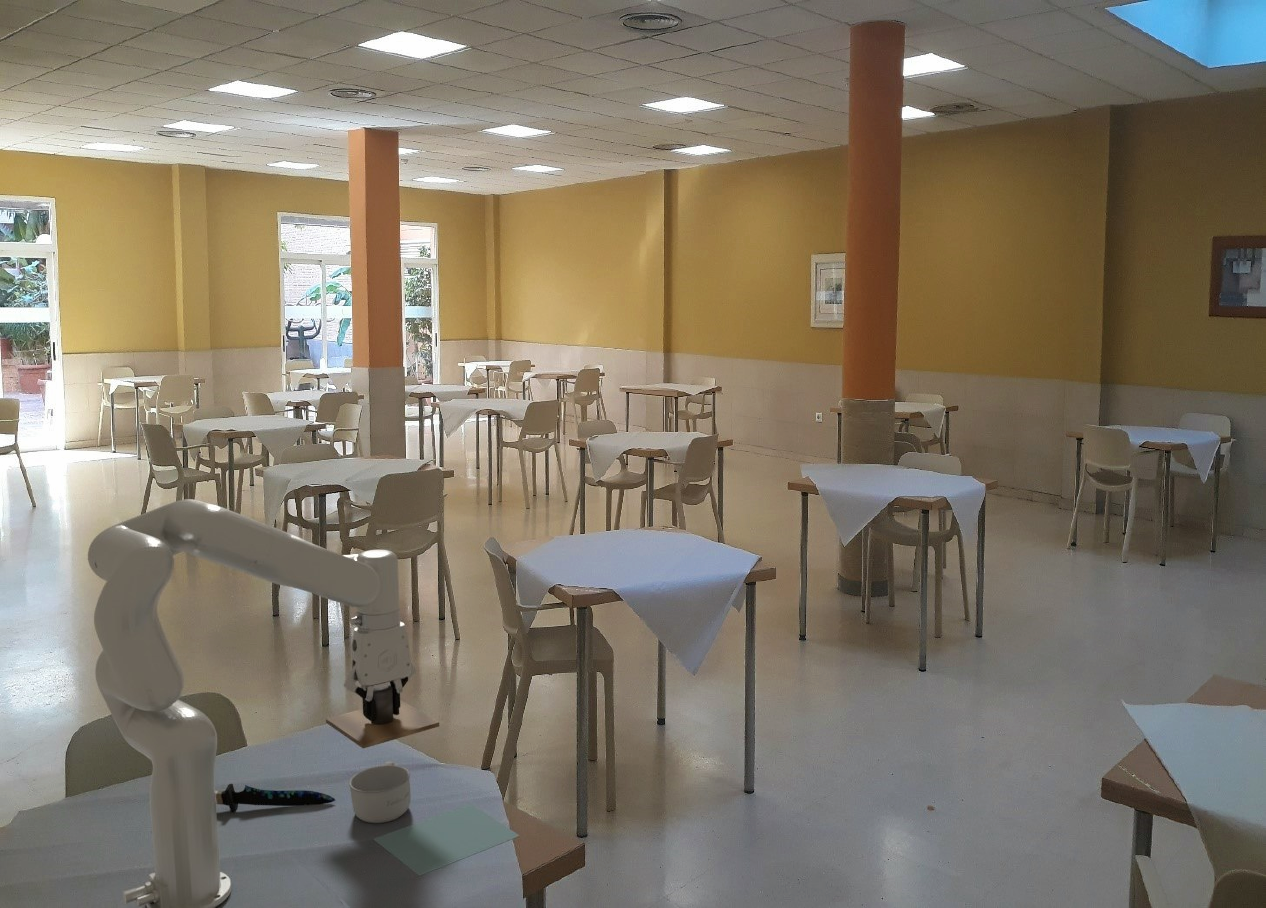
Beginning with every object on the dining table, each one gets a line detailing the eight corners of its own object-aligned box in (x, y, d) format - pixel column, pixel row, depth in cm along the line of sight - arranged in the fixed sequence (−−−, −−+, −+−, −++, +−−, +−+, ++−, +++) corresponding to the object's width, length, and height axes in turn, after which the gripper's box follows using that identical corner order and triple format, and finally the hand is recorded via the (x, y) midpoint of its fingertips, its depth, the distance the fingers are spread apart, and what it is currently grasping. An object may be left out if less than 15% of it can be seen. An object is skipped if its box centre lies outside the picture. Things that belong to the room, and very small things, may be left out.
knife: (163, 808, 198) (164, 786, 197) (169, 801, 201) (170, 778, 200) (331, 820, 200) (332, 797, 200) (334, 812, 203) (336, 790, 203)
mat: (419, 881, 175) (419, 875, 175) (373, 844, 187) (373, 838, 187) (520, 841, 188) (519, 835, 188) (470, 808, 200) (470, 803, 200)
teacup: (396, 834, 191) (395, 792, 190) (340, 828, 193) (338, 786, 192) (426, 799, 204) (425, 759, 203) (373, 794, 207) (372, 754, 205)
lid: (363, 748, 185) (361, 711, 184) (325, 722, 197) (324, 687, 196) (439, 726, 195) (438, 690, 194) (399, 703, 206) (398, 669, 205)
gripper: (344, 633, 185) (348, 734, 187) (430, 614, 196) (432, 710, 198) (325, 623, 191) (329, 721, 193) (410, 606, 201) (413, 699, 204)
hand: (382, 715), depth 196 cm, fingers closed on lid, 4 cm apart
